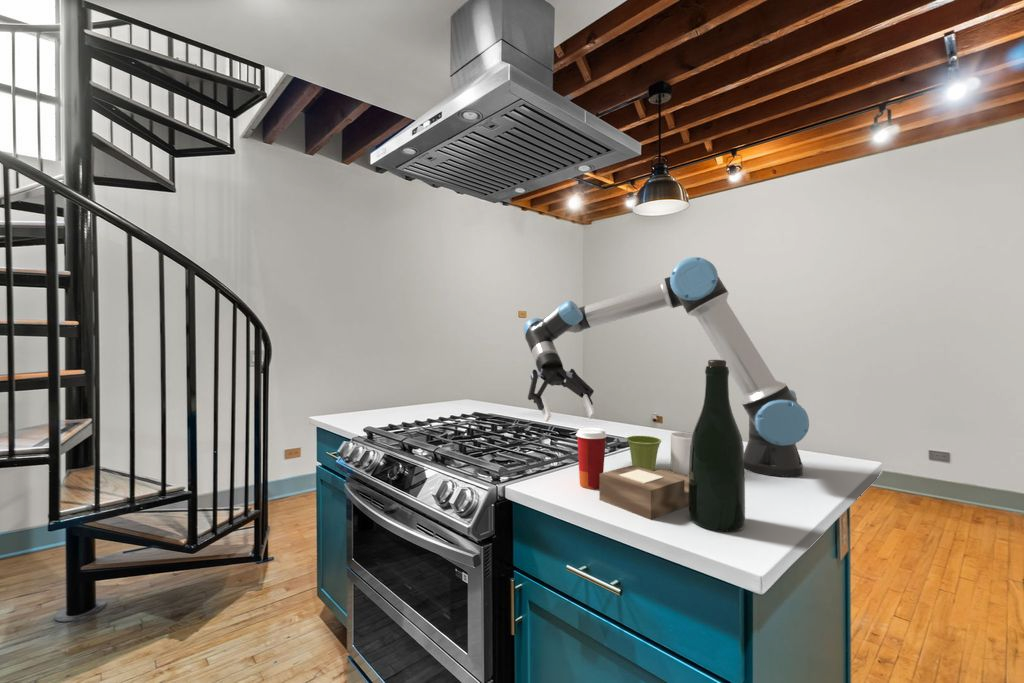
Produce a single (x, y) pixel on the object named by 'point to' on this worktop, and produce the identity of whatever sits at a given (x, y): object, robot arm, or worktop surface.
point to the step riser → (644, 490)
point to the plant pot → (644, 451)
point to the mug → (680, 452)
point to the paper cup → (591, 456)
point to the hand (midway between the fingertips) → (570, 417)
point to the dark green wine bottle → (717, 459)
